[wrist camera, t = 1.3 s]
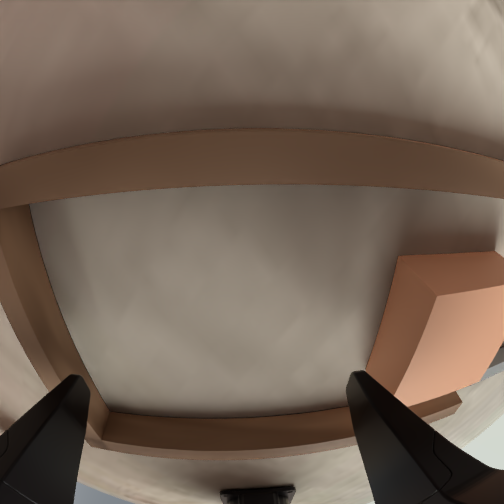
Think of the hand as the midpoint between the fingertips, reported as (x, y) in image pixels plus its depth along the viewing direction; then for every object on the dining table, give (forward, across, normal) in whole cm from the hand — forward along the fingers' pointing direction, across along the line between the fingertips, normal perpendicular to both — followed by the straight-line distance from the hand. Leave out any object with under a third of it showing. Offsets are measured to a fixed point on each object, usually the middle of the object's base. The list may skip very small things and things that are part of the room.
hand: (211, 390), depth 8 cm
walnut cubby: (+3, -4, 0) cm, 5 cm away
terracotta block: (+3, -10, 0) cm, 10 cm away
